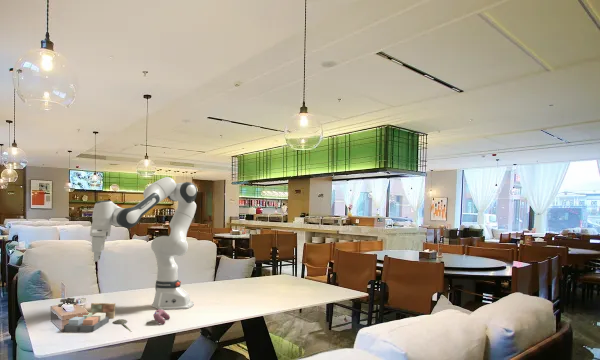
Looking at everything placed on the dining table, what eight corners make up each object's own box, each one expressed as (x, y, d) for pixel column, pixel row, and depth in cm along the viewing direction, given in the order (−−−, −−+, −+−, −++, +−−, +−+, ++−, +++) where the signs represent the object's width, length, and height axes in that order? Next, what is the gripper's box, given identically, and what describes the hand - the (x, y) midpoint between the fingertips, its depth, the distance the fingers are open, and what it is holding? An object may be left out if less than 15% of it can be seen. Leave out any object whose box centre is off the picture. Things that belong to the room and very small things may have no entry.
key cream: (105, 319, 169) (105, 312, 169) (100, 322, 164) (100, 315, 164) (96, 319, 168) (96, 312, 169) (90, 322, 163) (91, 315, 164)
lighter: (73, 317, 180) (75, 296, 181) (76, 318, 178) (78, 297, 179) (55, 320, 173) (57, 298, 174) (58, 321, 171) (60, 299, 172)
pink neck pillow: (162, 322, 181) (156, 309, 181) (170, 318, 182) (165, 305, 182) (156, 328, 171) (150, 314, 172) (165, 323, 172) (159, 310, 172)
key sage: (91, 319, 168) (92, 312, 169) (86, 322, 163) (86, 315, 164) (82, 319, 168) (83, 312, 168) (77, 322, 163) (77, 315, 163)
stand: (116, 319, 178) (117, 303, 179) (112, 321, 174) (113, 304, 175) (90, 319, 177) (92, 302, 178) (86, 321, 173) (88, 304, 174)
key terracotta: (97, 323, 162) (98, 317, 162) (92, 327, 157) (92, 320, 157) (88, 323, 161) (89, 316, 162) (82, 327, 156) (83, 320, 157)
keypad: (108, 324, 170) (109, 316, 170) (92, 334, 155) (93, 325, 155) (81, 323, 169) (82, 316, 169) (63, 334, 154) (64, 325, 155)
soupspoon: (125, 323, 176) (110, 326, 172) (125, 316, 176) (110, 319, 172) (138, 333, 159) (122, 337, 155) (138, 325, 159) (122, 328, 155)
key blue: (83, 323, 161) (84, 316, 162) (77, 327, 156) (78, 319, 157) (74, 323, 161) (75, 316, 161) (68, 327, 156) (68, 319, 156)
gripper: (95, 231, 191) (92, 258, 189) (90, 232, 173) (87, 262, 171) (108, 232, 194) (105, 258, 192) (105, 233, 175) (102, 262, 173)
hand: (96, 260), depth 181 cm, fingers open, 8 cm apart
